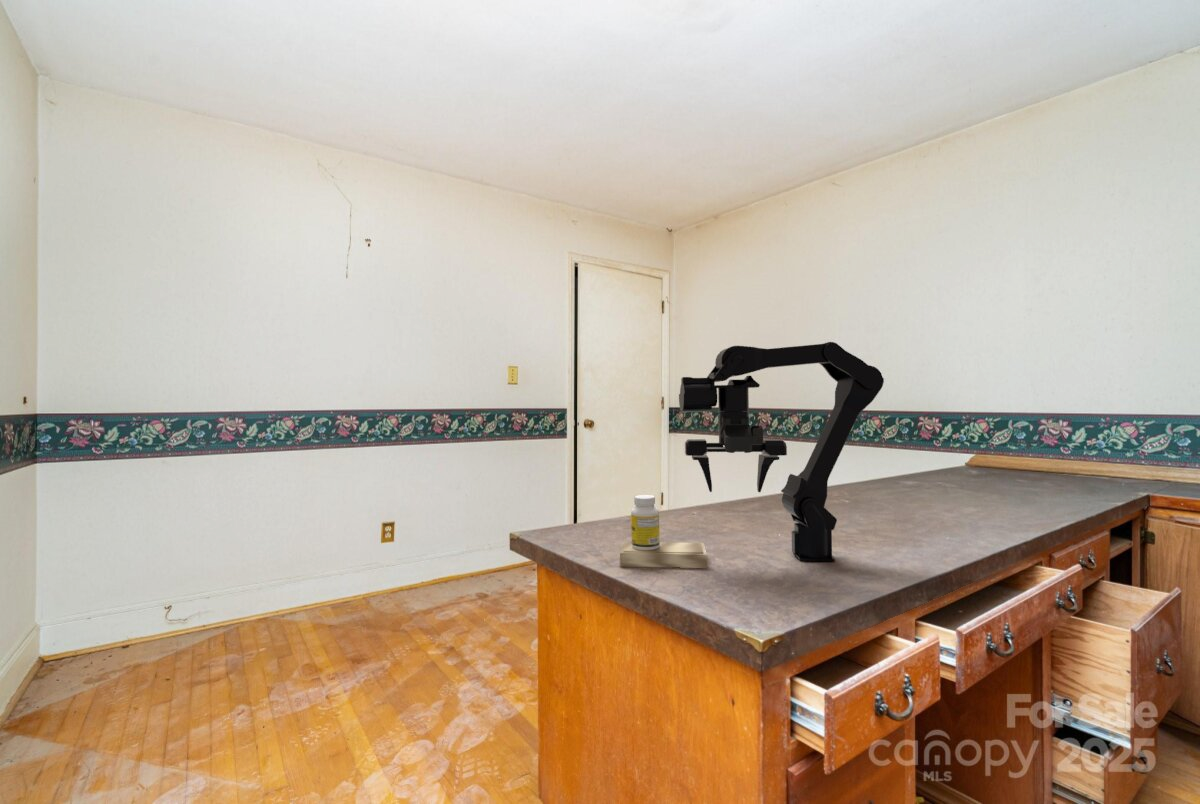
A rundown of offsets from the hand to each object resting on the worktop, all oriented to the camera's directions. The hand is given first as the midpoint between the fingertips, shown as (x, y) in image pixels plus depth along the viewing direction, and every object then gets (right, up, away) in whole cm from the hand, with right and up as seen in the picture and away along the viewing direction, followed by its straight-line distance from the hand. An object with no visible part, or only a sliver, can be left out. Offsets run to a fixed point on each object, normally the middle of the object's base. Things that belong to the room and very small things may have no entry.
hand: (734, 491), depth 105 cm
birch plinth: (-14, -13, -1) cm, 19 cm away
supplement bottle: (-17, -11, -1) cm, 20 cm away
